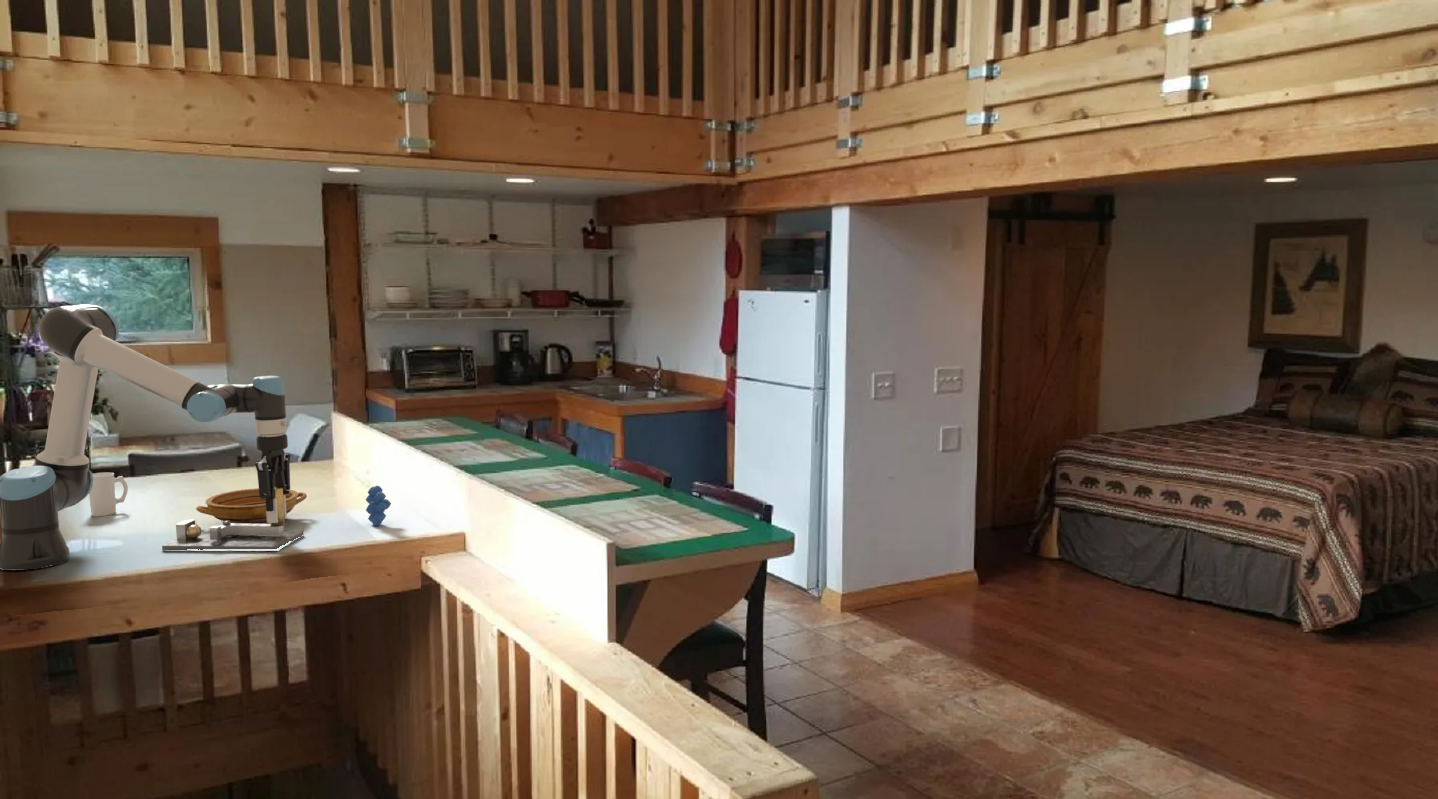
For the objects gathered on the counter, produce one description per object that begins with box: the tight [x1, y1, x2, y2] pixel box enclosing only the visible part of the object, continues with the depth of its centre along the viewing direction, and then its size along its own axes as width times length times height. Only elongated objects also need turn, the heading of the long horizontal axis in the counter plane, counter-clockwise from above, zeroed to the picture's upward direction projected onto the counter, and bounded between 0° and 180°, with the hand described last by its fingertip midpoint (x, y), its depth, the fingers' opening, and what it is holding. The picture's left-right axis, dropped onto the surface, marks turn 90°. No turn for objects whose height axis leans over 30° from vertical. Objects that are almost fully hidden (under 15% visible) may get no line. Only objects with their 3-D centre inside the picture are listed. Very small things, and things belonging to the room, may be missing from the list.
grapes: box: [365, 485, 392, 526], centre depth 283 cm, size 12×7×12 cm, turn 38°
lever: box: [208, 487, 286, 540], centre depth 263 cm, size 8×17×12 cm, turn 87°
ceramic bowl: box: [195, 487, 308, 524], centre depth 285 cm, size 30×24×8 cm
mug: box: [88, 472, 129, 517], centre depth 296 cm, size 10×7×12 cm, turn 129°
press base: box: [161, 519, 305, 551], centre depth 264 cm, size 16×30×6 cm, turn 89°
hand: (276, 520), depth 265 cm, fingers closed on lever, 4 cm apart
